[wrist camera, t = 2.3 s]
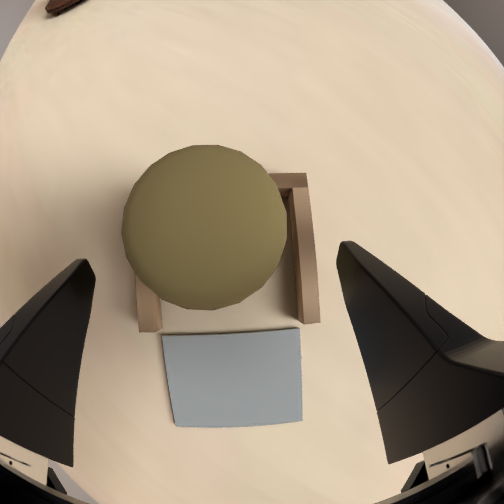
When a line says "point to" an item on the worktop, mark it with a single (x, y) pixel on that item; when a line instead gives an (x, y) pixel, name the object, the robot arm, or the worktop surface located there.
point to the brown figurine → (58, 5)
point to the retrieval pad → (234, 378)
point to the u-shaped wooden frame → (302, 249)
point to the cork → (204, 227)
